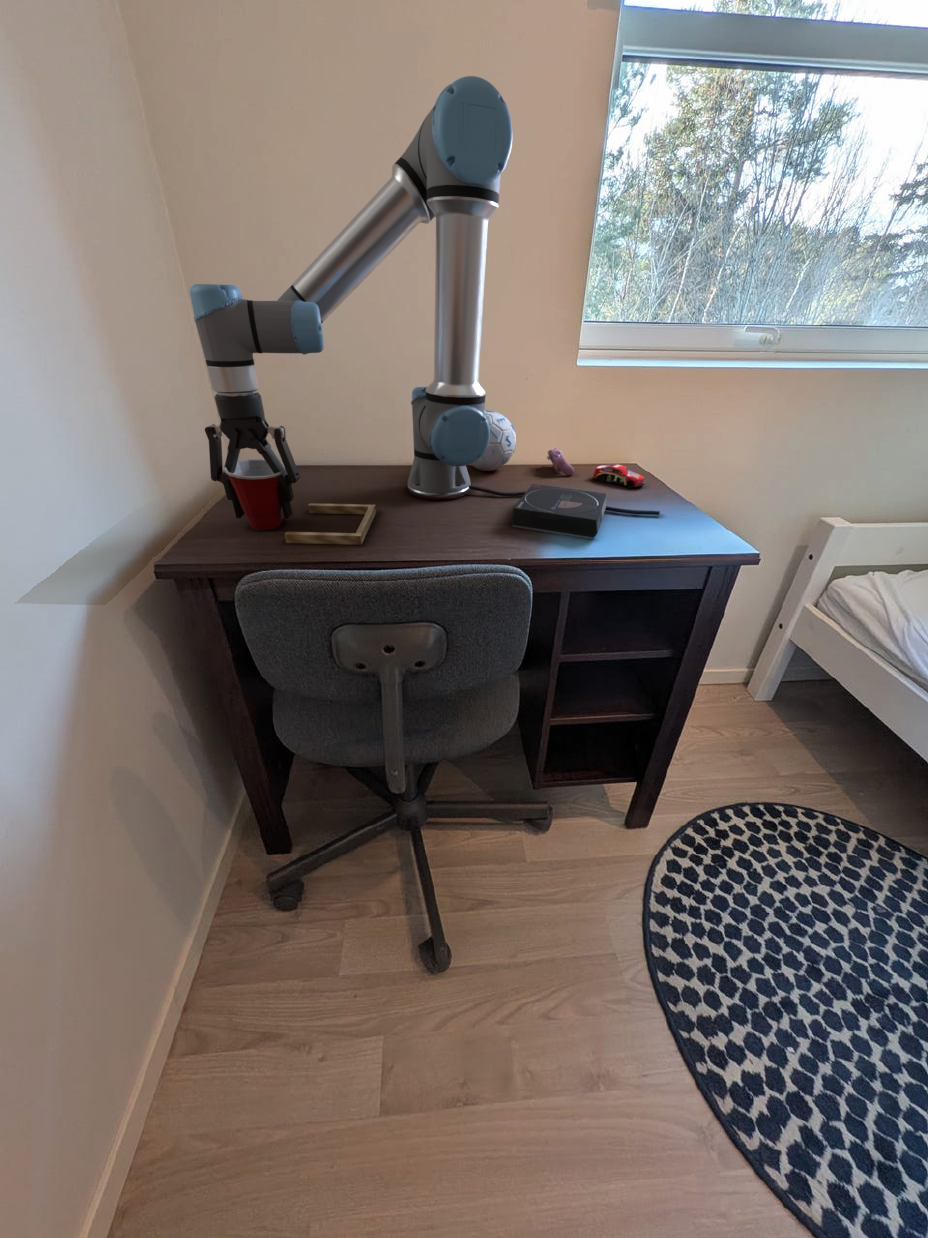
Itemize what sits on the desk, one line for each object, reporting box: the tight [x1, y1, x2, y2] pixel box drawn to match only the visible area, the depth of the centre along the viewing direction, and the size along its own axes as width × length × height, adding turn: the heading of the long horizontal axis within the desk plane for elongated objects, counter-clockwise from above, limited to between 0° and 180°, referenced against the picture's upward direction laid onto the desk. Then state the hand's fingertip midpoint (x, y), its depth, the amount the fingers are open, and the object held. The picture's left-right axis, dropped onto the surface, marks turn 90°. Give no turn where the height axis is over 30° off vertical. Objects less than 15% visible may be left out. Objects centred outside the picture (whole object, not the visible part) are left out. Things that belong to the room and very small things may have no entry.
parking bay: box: [284, 502, 377, 546], centre depth 96 cm, size 14×16×2 cm
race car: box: [593, 463, 646, 489], centre depth 122 cm, size 13×5×4 cm, turn 50°
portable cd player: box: [511, 483, 608, 540], centre depth 101 cm, size 16×17×4 cm
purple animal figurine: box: [546, 447, 575, 476], centre depth 130 cm, size 10×5×7 cm, turn 5°
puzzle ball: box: [470, 409, 517, 472], centre depth 127 cm, size 15×15×15 cm
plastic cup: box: [223, 458, 286, 531], centre depth 93 cm, size 11×11×12 cm
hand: (264, 515), depth 95 cm, fingers closed on plastic cup, 9 cm apart
